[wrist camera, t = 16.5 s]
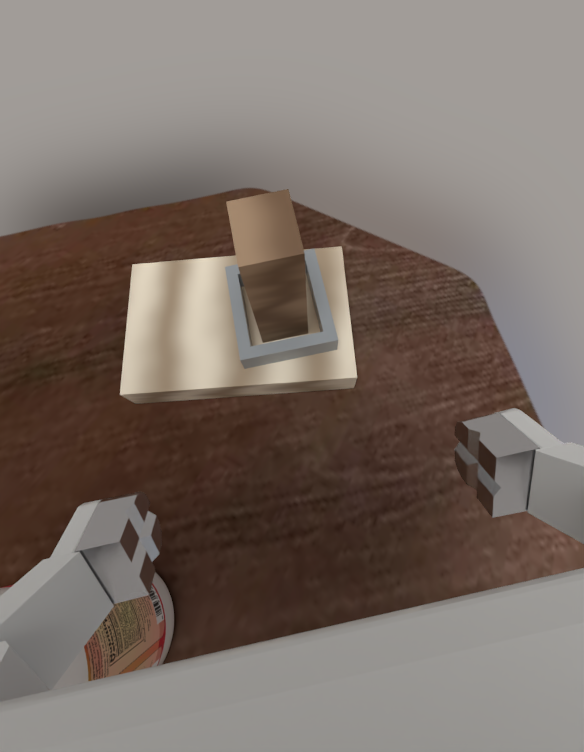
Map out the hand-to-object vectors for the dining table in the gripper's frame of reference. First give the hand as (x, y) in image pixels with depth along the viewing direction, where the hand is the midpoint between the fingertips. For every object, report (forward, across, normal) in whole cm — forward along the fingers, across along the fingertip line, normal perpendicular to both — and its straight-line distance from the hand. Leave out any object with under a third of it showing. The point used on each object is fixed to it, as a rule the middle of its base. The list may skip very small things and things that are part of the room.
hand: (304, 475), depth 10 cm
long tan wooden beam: (+25, -1, +3) cm, 25 cm away
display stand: (+27, +3, +5) cm, 28 cm away
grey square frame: (+25, -1, +3) cm, 25 cm away
